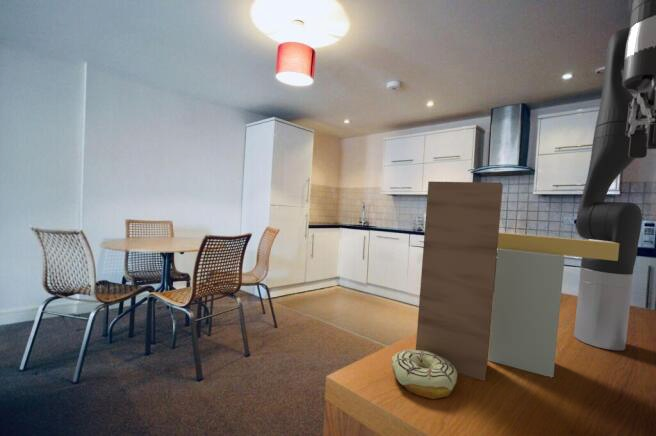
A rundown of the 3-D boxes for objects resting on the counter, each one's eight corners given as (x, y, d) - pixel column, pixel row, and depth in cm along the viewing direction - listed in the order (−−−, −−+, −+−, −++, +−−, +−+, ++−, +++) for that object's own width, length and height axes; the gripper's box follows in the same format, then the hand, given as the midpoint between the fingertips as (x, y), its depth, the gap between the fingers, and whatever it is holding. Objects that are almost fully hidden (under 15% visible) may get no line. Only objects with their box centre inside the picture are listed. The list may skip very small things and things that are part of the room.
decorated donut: (393, 397, 48) (394, 373, 48) (389, 362, 59) (390, 343, 59) (464, 406, 47) (466, 381, 47) (446, 369, 58) (448, 349, 57)
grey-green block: (490, 345, 69) (498, 245, 68) (548, 360, 64) (558, 252, 63) (488, 360, 62) (497, 249, 61) (553, 377, 57) (564, 256, 56)
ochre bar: (485, 245, 67) (487, 231, 67) (612, 258, 57) (614, 242, 57) (484, 246, 64) (486, 231, 64) (617, 260, 54) (619, 243, 54)
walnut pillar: (423, 347, 66) (436, 184, 65) (487, 364, 60) (502, 186, 59) (414, 360, 60) (428, 181, 59) (484, 381, 54) (501, 182, 53)
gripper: (716, 23, 43) (702, 144, 43) (669, 66, 55) (659, 160, 56) (640, 35, 46) (629, 146, 47) (613, 73, 59) (604, 160, 59)
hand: (646, 153), depth 51 cm, fingers open, 8 cm apart
